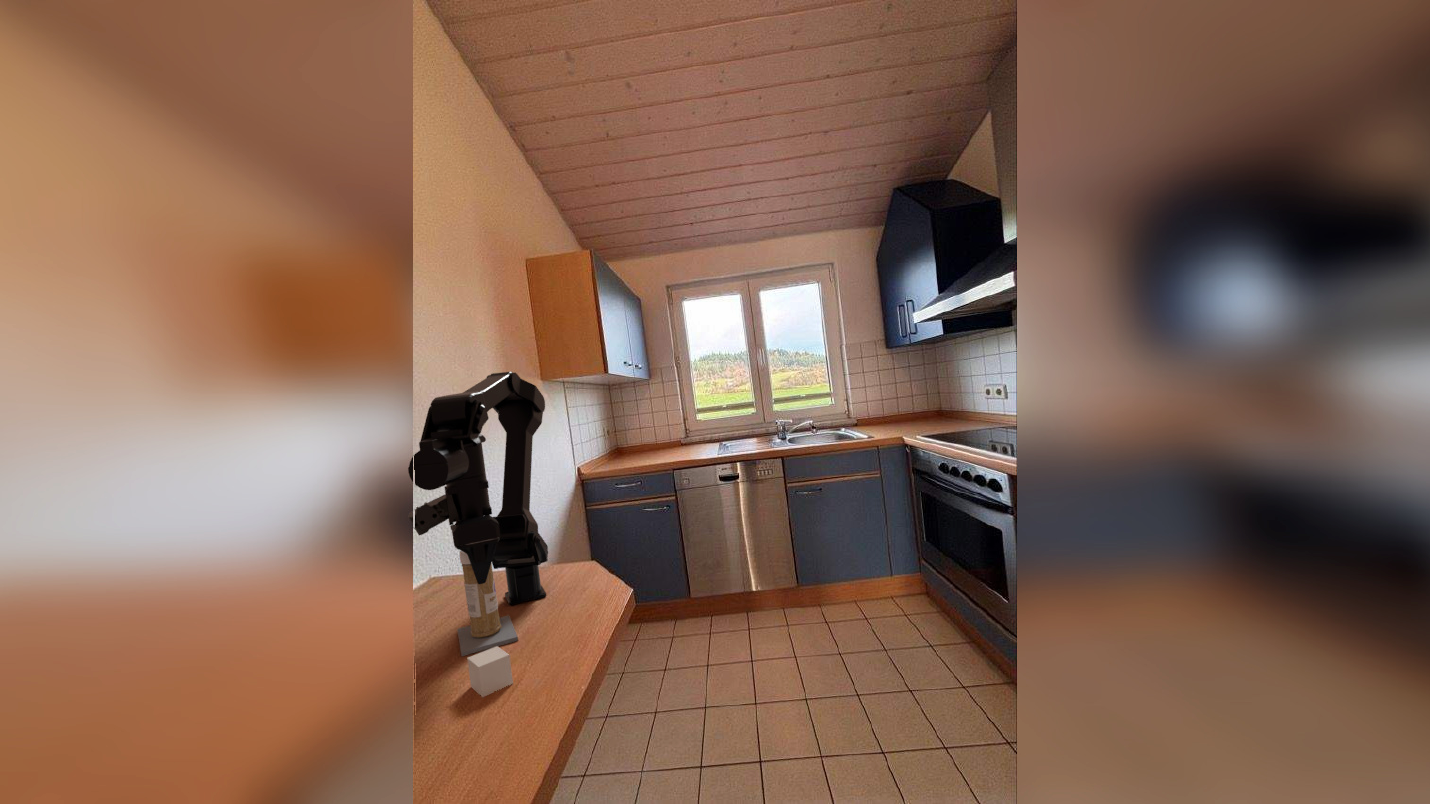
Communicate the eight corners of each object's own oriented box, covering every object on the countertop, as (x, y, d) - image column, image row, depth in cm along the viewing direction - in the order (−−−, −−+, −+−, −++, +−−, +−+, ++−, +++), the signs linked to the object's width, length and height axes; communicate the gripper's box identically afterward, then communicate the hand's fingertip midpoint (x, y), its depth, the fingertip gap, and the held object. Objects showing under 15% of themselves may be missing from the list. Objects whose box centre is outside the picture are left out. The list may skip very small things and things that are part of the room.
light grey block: (471, 687, 80) (467, 657, 79) (500, 674, 82) (497, 646, 82) (482, 697, 76) (478, 667, 76) (513, 684, 79) (509, 654, 79)
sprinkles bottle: (504, 631, 94) (493, 546, 94) (474, 641, 92) (462, 554, 91) (497, 623, 98) (486, 541, 98) (467, 632, 96) (456, 548, 95)
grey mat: (457, 632, 98) (457, 628, 98) (509, 618, 101) (508, 615, 101) (461, 656, 89) (461, 652, 89) (518, 640, 92) (517, 636, 92)
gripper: (408, 477, 98) (421, 572, 99) (406, 495, 82) (422, 608, 83) (481, 466, 103) (493, 556, 104) (493, 480, 86) (507, 587, 87)
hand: (479, 575), depth 94 cm, fingers open, 9 cm apart
